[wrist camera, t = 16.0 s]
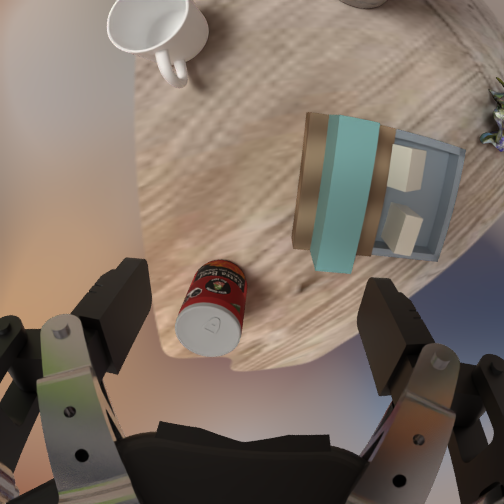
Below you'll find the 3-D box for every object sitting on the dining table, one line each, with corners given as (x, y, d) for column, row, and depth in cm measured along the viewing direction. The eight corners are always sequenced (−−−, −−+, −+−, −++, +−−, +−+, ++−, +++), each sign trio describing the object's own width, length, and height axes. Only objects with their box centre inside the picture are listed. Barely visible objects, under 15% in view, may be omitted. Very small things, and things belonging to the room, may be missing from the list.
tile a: (392, 143, 29) (412, 148, 27) (409, 146, 32) (426, 150, 30) (386, 186, 31) (405, 192, 30) (403, 183, 34) (420, 189, 32)
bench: (306, 112, 32) (310, 112, 29) (385, 126, 32) (396, 128, 28) (291, 237, 39) (293, 248, 36) (363, 244, 39) (370, 256, 36)
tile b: (406, 214, 31) (423, 218, 31) (391, 201, 35) (406, 205, 35) (393, 253, 33) (410, 256, 33) (380, 236, 38) (396, 239, 38)
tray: (385, 126, 32) (394, 128, 29) (454, 146, 31) (465, 149, 29) (363, 244, 39) (369, 254, 36) (428, 252, 39) (437, 261, 36)
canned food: (253, 265, 41) (248, 315, 31) (240, 310, 45) (232, 363, 35) (199, 251, 41) (177, 297, 31) (191, 298, 44) (171, 348, 34)
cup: (201, -1, 26) (178, -33, 17) (225, 80, 31) (208, 68, 22) (139, 23, 27) (100, 2, 18) (160, 102, 32) (123, 100, 23)
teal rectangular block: (329, 114, 29) (339, 114, 24) (364, 121, 29) (380, 123, 24) (310, 250, 36) (315, 270, 31) (341, 253, 36) (350, 273, 31)
